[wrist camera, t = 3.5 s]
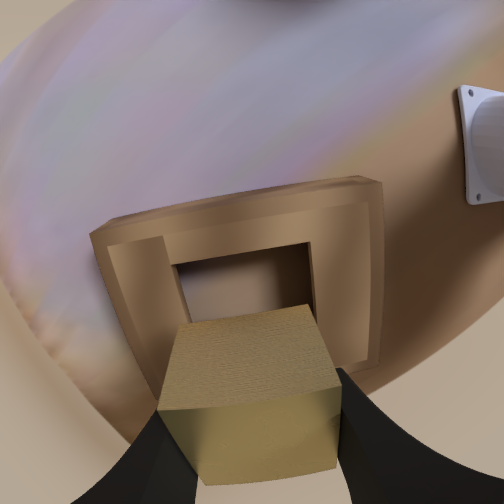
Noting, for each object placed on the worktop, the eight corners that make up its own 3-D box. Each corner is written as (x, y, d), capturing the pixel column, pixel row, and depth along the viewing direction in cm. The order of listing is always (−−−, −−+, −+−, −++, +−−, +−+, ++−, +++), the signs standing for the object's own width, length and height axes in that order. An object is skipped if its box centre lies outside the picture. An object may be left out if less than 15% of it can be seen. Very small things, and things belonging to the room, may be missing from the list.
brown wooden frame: (358, 175, 16) (382, 182, 13) (362, 338, 19) (378, 365, 17) (112, 218, 16) (89, 234, 13) (164, 369, 20) (156, 399, 17)
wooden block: (307, 304, 10) (341, 385, 6) (314, 391, 12) (336, 467, 8) (179, 324, 10) (156, 410, 6) (209, 407, 12) (205, 485, 8)
